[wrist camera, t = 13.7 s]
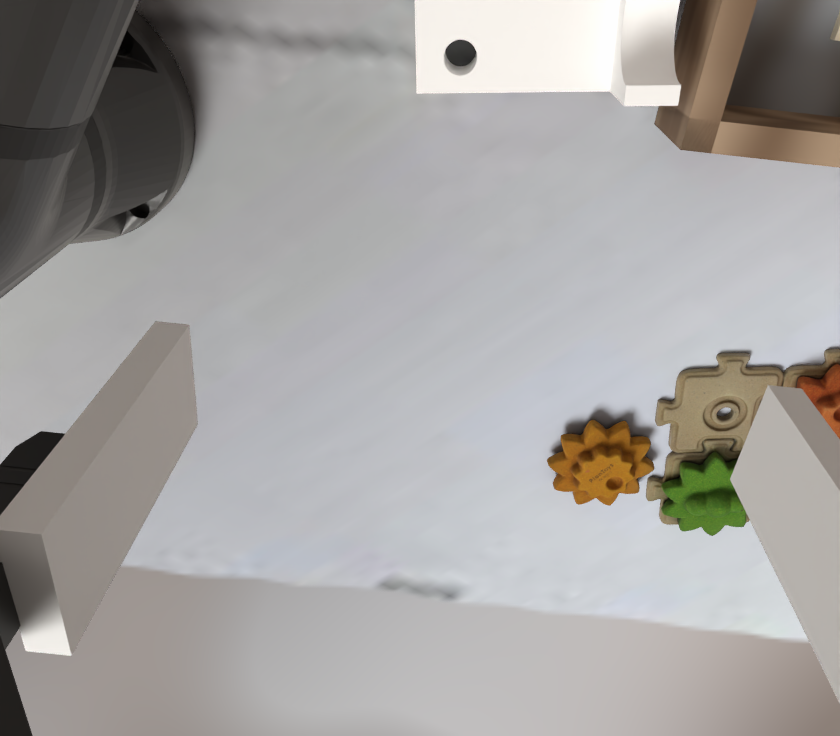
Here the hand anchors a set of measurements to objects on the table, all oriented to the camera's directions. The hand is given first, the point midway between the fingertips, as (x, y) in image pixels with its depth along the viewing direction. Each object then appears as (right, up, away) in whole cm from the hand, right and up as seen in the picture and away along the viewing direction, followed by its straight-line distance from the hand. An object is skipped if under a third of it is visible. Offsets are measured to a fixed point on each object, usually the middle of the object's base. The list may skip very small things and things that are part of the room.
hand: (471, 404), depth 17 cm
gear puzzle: (+24, -4, +38) cm, 45 cm away
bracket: (+5, +21, +24) cm, 32 cm away
